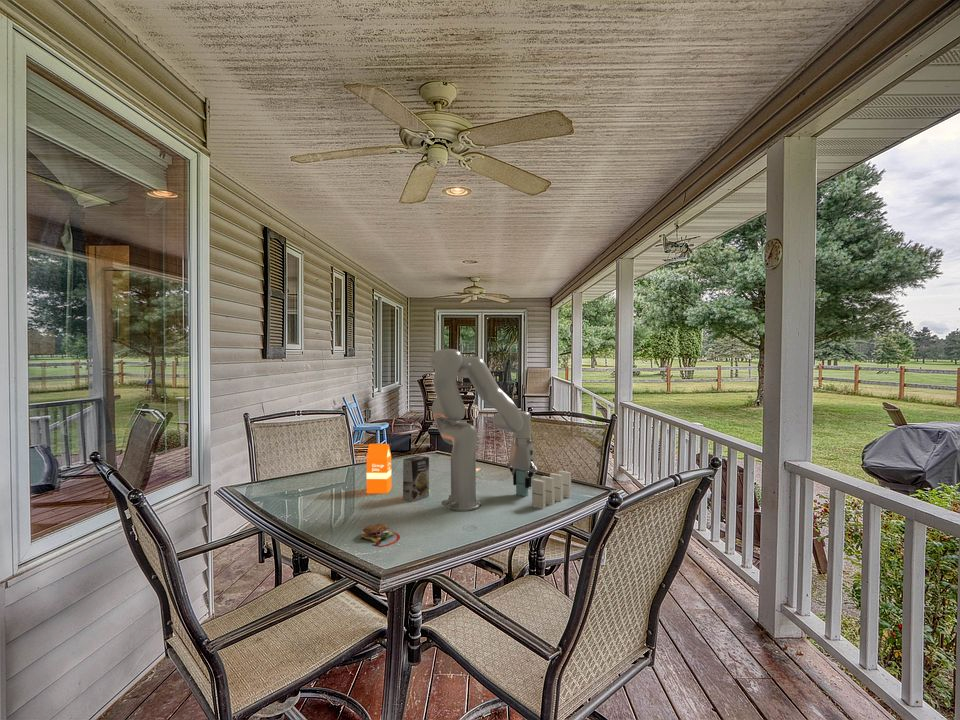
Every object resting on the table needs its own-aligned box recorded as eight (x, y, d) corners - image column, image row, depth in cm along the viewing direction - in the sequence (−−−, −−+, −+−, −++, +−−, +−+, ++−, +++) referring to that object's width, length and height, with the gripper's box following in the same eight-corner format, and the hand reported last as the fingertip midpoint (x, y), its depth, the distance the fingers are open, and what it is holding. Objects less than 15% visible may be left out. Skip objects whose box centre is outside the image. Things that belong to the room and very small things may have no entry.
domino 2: (543, 509, 167) (542, 481, 167) (532, 506, 170) (532, 479, 170) (545, 507, 168) (545, 481, 168) (534, 505, 171) (534, 478, 171)
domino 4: (560, 501, 175) (560, 475, 176) (550, 499, 179) (549, 473, 179) (563, 500, 177) (562, 475, 177) (552, 498, 180) (552, 473, 180)
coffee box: (413, 502, 176) (413, 460, 177) (402, 499, 180) (402, 458, 180) (429, 496, 184) (429, 456, 184) (418, 493, 188) (418, 455, 188)
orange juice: (371, 488, 197) (371, 442, 197) (391, 488, 196) (391, 442, 197) (366, 493, 189) (366, 445, 189) (387, 493, 189) (387, 445, 189)
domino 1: (525, 496, 182) (525, 472, 182) (516, 494, 185) (516, 470, 186) (528, 496, 183) (528, 471, 183) (518, 493, 187) (518, 469, 187)
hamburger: (343, 543, 137) (343, 523, 137) (377, 529, 149) (377, 510, 149) (376, 553, 129) (376, 532, 130) (409, 537, 141) (409, 518, 141)
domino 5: (569, 498, 180) (568, 473, 180) (558, 495, 183) (558, 471, 183) (571, 497, 181) (571, 472, 181) (560, 494, 184) (560, 470, 184)
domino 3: (552, 505, 171) (552, 478, 171) (541, 502, 174) (541, 476, 175) (554, 504, 172) (554, 478, 172) (543, 501, 176) (543, 475, 176)
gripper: (544, 442, 181) (544, 487, 181) (511, 438, 193) (511, 480, 193) (533, 445, 176) (533, 491, 176) (499, 440, 188) (500, 484, 187)
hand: (522, 485), depth 184 cm, fingers open, 5 cm apart
